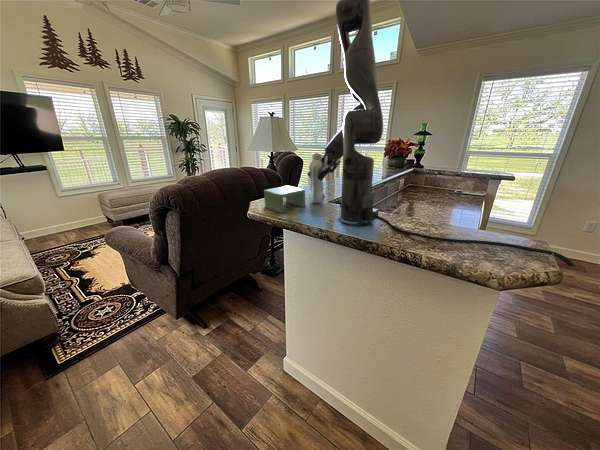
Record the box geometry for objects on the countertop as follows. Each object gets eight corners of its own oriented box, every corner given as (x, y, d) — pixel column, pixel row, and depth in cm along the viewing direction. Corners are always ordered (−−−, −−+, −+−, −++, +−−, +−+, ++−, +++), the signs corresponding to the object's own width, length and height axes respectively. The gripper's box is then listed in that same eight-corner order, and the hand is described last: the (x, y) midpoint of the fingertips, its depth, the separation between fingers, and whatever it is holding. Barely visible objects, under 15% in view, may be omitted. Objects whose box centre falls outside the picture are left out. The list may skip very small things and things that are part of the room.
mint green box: (305, 206, 94) (304, 189, 92) (281, 213, 87) (280, 194, 84) (288, 201, 102) (287, 185, 99) (265, 207, 95) (263, 190, 92)
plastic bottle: (326, 201, 100) (327, 152, 93) (321, 205, 95) (321, 154, 87) (312, 199, 103) (312, 152, 95) (306, 204, 97) (305, 153, 90)
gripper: (323, 139, 99) (299, 169, 98) (344, 139, 87) (317, 174, 86) (333, 151, 103) (311, 180, 102) (354, 153, 91) (329, 186, 90)
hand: (313, 177), depth 94 cm, fingers open, 8 cm apart
